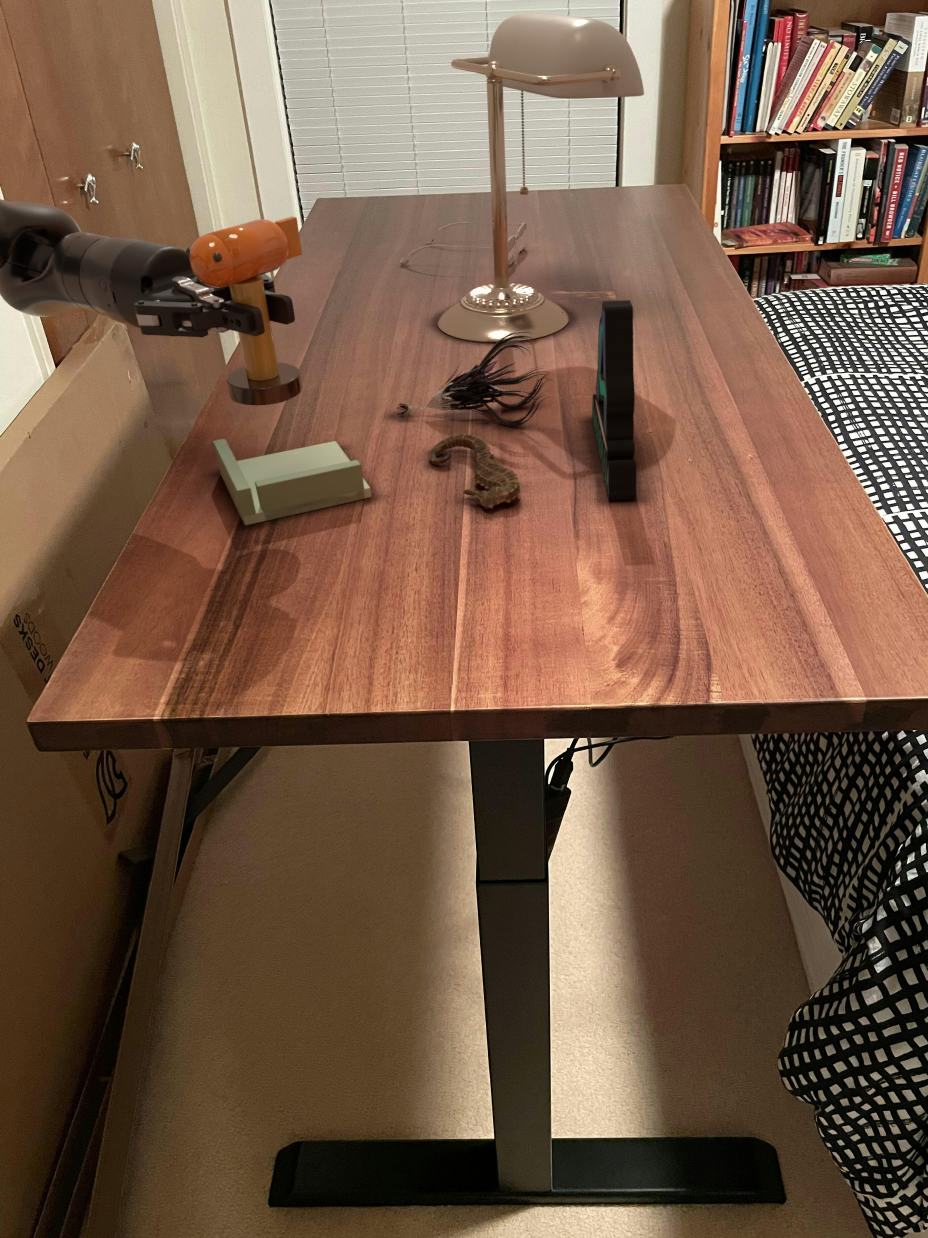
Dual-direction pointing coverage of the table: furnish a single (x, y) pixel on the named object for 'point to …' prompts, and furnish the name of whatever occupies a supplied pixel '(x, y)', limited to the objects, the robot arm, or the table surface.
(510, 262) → the eyeglasses
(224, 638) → the table surface
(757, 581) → the table surface
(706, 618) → the table surface
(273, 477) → the corner tray
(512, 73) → the lamp
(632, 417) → the decorative sign
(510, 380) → the feather lure
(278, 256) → the goldfish figurine
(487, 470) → the seahorse
